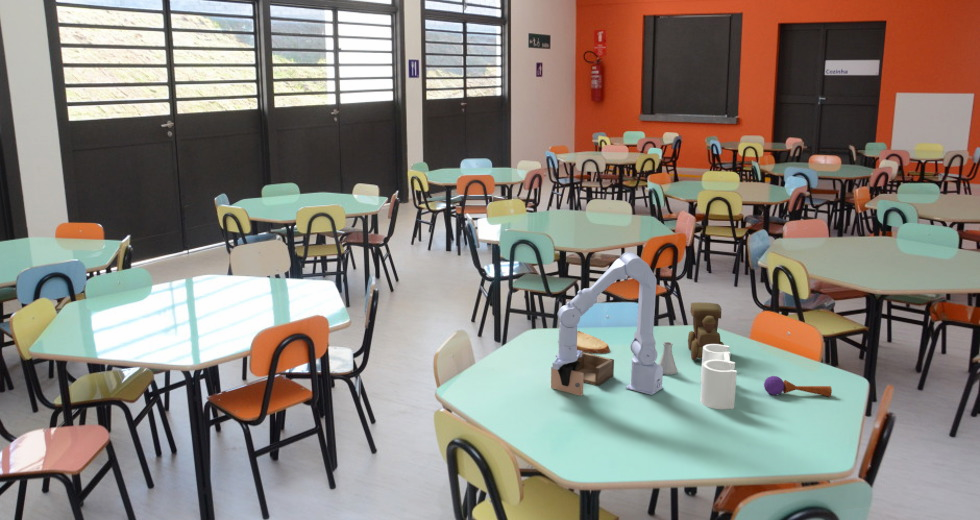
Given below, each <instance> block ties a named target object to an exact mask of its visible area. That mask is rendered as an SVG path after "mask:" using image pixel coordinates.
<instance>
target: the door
mask: <svg viewBox="0 0 980 520" xmlns="http://www.w3.org/2000/svg"><path fill="white" fill-rule="evenodd" d="M550 368H551V369H550V388H551V389H555V390H558V391H561V392H565V393H568V394H569V393H570V394H573V395H576V396H580V397H581V396H583V395H584V382H583V381H584V373H581V372H577V371H573V370H572V371H571V374H570V381H569V385H568V386H564V385H562V383H561V379H560V375H559V373H558V370H556V369H553V368H552V366H550Z"/></svg>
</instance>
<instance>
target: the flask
mask: <svg viewBox="0 0 980 520" xmlns="http://www.w3.org/2000/svg"><path fill="white" fill-rule="evenodd" d="M662 344H663V351H662V354H661V356H660V358H659V362H658V363H657V364H658V365H661V366H662V368H663V375H666V376H667V375H668V376H671V375H676V374H677V373H678V368H677V365H676V362H675V359H674V355H673V345H674V343H672V342H670V341H664V342H663V343H662Z"/></svg>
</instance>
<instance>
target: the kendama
mask: <svg viewBox="0 0 980 520" xmlns="http://www.w3.org/2000/svg"><path fill="white" fill-rule="evenodd" d="M763 387H764V390H765V391H766V393H768V394H769V395H772V396H778V395H781V394H782V393H783V394H788V393H790V392H794V391H801V392H805V393H810V394H815V395H818V396H819V395H820V396H824V397H829V398H830V397H831V396H832V392H833V389H832V386H831V385H828V386H827V385H822V386H821V385H815V386H813V385H795V384H793V383H792V382H790V381H788V380H786V379H785V380H783V379H782V378H781V377H780V376H778V375H777V376H776V375H772V376H771V375H770V376H769V377H767V378H766V379H765V381H764V383H763Z"/></svg>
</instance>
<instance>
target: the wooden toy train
mask: <svg viewBox="0 0 980 520" xmlns="http://www.w3.org/2000/svg"><path fill="white" fill-rule="evenodd" d="M722 310H723V309H722V307H721V305H720V304H719V303H714V302H690V315H691V316H692V325H693V326H692V327H693V328H692V329H693V330H691V331H689V332H688V337H687V344H688V350H690V358H691V361H697V359H702V354H703V346H705V345H708V344H720V345H725V344H724V342H723V341H721V334H720V332H718V327H719V319H722Z"/></svg>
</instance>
